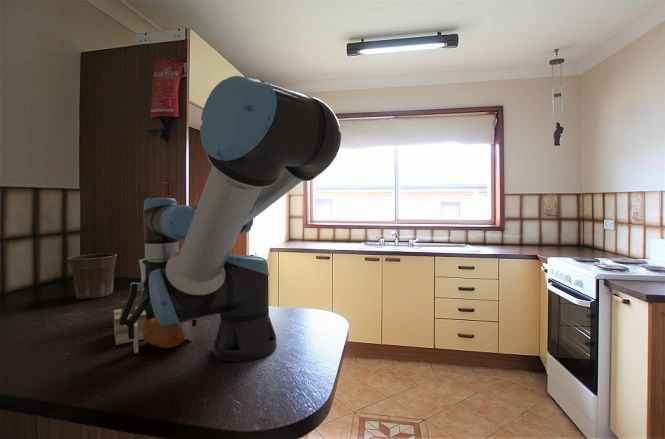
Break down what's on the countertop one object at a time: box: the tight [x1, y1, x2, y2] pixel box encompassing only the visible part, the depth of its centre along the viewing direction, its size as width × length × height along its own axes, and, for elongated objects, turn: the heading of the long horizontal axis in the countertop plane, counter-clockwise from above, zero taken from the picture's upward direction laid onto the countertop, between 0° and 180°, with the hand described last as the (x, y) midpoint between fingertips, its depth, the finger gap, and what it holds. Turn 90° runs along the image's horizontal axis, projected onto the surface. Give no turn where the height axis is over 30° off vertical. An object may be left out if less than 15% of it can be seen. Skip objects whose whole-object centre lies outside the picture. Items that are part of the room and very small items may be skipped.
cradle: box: [113, 305, 148, 346], centre depth 90 cm, size 10×7×6 cm
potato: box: [142, 317, 186, 349], centre depth 84 cm, size 7×13×7 cm, turn 52°
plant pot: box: [67, 253, 118, 300], centre depth 134 cm, size 16×16×16 cm
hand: (164, 344), depth 84 cm, fingers open, 11 cm apart
